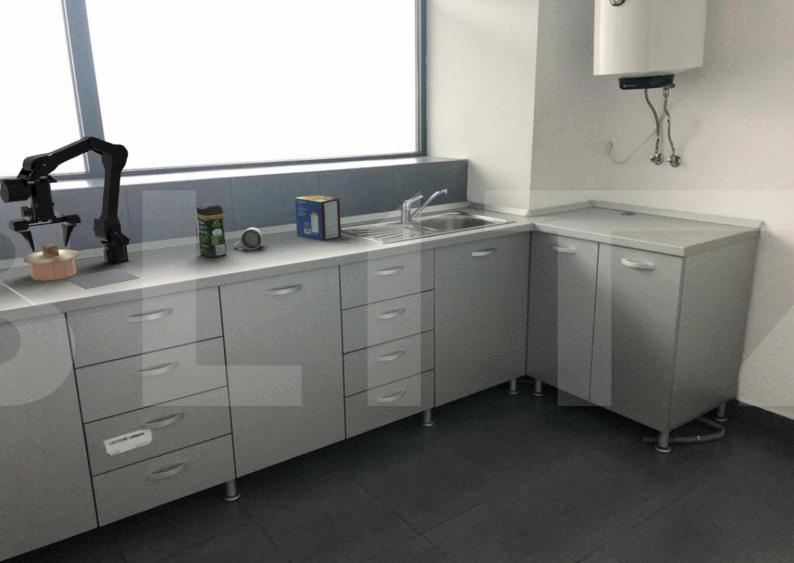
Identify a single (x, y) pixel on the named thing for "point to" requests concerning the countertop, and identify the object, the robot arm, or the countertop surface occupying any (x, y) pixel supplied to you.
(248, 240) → the ceramic mug
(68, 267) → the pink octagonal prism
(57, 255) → the lid
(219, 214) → the coffee jar
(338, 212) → the protein box
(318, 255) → the countertop surface
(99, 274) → the mat
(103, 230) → the robot arm
